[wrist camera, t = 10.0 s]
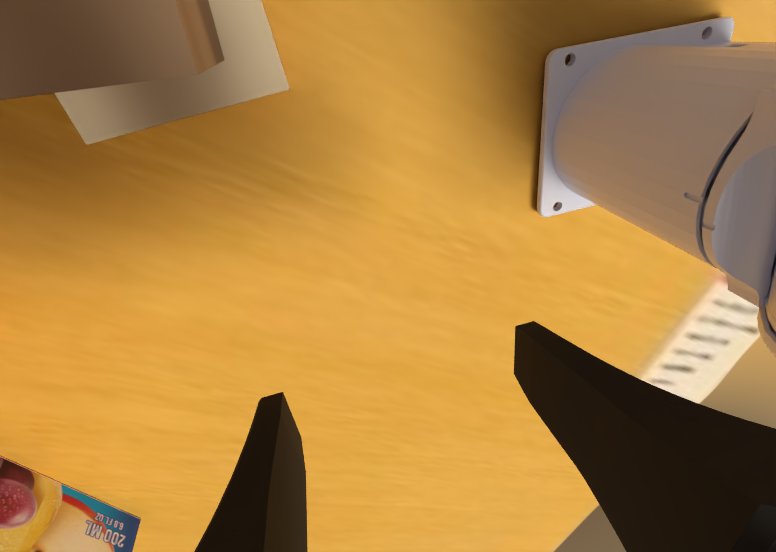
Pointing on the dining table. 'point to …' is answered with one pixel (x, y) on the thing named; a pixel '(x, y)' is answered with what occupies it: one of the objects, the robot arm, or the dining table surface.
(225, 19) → the oak base
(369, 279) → the dining table surface
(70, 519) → the juice carton
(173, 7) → the walnut block
